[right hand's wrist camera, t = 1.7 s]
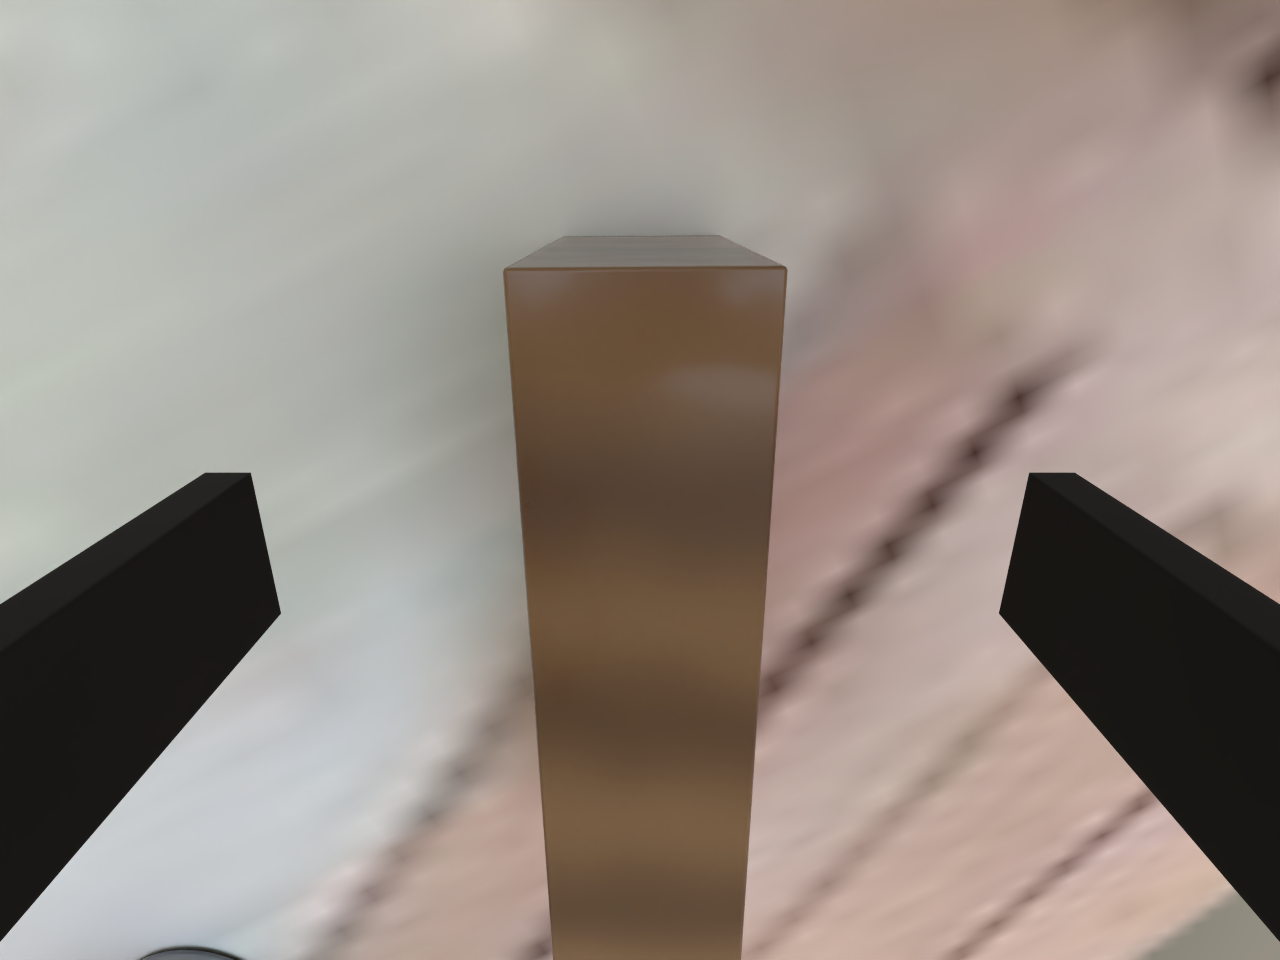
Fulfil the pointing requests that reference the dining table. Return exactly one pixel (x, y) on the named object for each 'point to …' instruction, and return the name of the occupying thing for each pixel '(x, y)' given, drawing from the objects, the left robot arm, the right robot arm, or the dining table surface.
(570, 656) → the box
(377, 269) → the dining table surface
